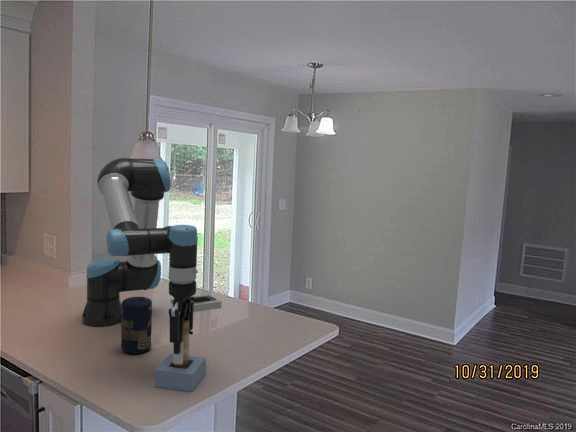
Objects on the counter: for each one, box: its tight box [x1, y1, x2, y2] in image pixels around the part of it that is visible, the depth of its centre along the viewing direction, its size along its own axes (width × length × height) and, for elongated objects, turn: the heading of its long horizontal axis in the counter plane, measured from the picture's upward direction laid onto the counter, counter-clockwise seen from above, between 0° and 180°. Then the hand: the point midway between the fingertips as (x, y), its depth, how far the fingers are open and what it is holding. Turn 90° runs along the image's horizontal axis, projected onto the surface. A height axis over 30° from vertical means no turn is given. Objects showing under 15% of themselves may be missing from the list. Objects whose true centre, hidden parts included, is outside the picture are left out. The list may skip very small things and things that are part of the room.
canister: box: [120, 296, 153, 355], centre depth 149 cm, size 10×10×18 cm
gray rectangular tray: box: [169, 294, 223, 313], centre depth 198 cm, size 17×5×16 cm
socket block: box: [153, 353, 207, 393], centre depth 131 cm, size 11×11×5 cm
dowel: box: [174, 320, 190, 369], centre depth 130 cm, size 4×4×15 cm
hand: (181, 359), depth 131 cm, fingers closed on dowel, 4 cm apart
